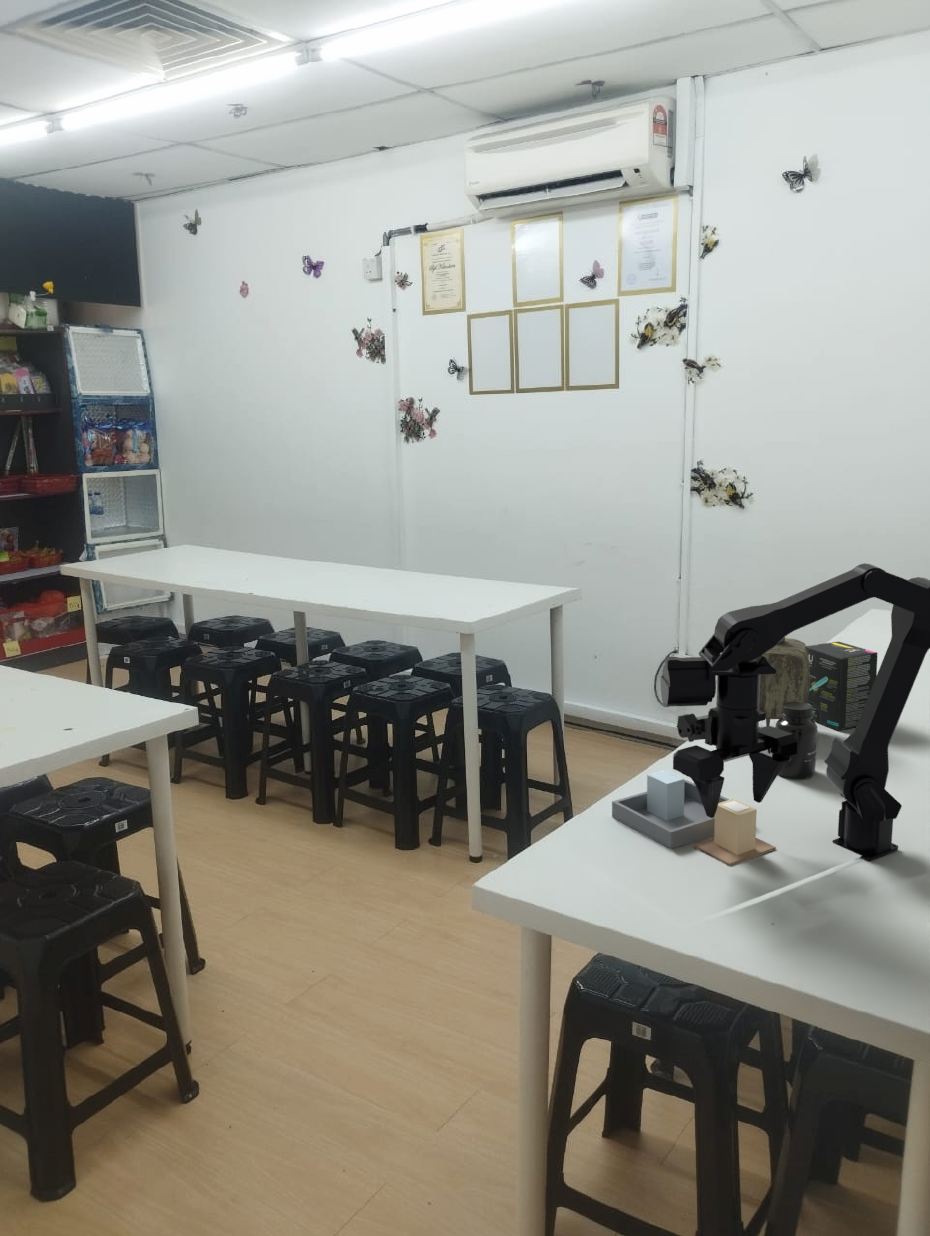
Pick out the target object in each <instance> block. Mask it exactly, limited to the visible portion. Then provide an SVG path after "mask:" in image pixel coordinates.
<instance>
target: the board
mask: <svg viewBox="0 0 930 1236" xmlns="http://www.w3.org/2000/svg"><path fill="white" fill-rule="evenodd" d="M693 848H694V849H696V850H699V851H700V852H702V853H704V854H706V855H707V856H709V857H712V858H713V859H715V860H717V861H719V862H721V863H723V864H725V865H727V866H728V867H731V866H734V865H736V864H739V863H742V862H745V861H747V860H750V859H752V858H755V857H759V856H761V855H764V854H767V853H769V852H772V851H775V850H776V849H777V848H776V846H774V845H772V844H771V843H769V842H765V841H764V840H761V839H760V838H758V837H756V839H755V849H753V850H750V851H747V852H745V853H742V854H739V855H736V854H734V853H732V852H730V851H728V850H726V849H724V848H722V847H721V846H719V845H717V844H715V843H714V837H713V838H709V839H707V840H704V841H701V842H698V843H695V844H693Z"/></svg>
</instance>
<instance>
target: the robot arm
mask: <svg viewBox="0 0 930 1236" xmlns="http://www.w3.org/2000/svg"><path fill="white" fill-rule="evenodd" d="M872 598H876V599H878V600H881V601H883V602H886V603H888V604H890V605H892V609H891V613H890V621H891V622H890V623H891V624H890V625H891V637H890V640H889V641H890V642H889V644H888V647H887V649H886V651H885V654H884V656H883V659H882V662H881V663H880V667H879V669H878V671H877V676H876V679H875V681H874V684H873V686H872V689H871V691H870V694H869V696H868V699H867V701H866V704H865V706H864V709H863V711H862V714H861V716H860V719H859V721H858V724H857V726H856V727H855V728H854V731H853V732H852V733H851V734H849V736H848V737H847V738H845V739H844V740H843V739H841V738H839V737H835V738H834V739H833V741H832V746H831V750H830V752H829V755H828V756H827V757H826V758H825V759H824V762H823V763H825V765H827V767H826V770H825V771H826V776H827V778H828V781H829V783H831V785H832V786H833V787H834V788H835V789H837V791H838V792H839V795H840V797H842V798H844V801H842V802H841V809H839V810H838V826H837V836H838V837H837V838H835V839H833V840H832V844H834V845H837V846H839V847H840V848H843V849H846V850H848V851H850V852H853V853H854V854H856V855H857V854H858V855H859V856H860V858H862V859H864V860H867V861H874V860H875V859H878V858H881V857H882V856H883V857H884V856H885V855H888V854H891V853H893V852H896V851H897V850H899V845H897V844H895V843H893V842H892V841H893V828H894V827H893V826H894V820H896V819H897V818H898V815H899V814H900V811H901V809H902V806H903V805H902V804H901V803H900V801H898V800H897V799H896V798H895V797H894V796H892V795H891V794H890V793H889V792H888V791H887V790H886V785H887V780H888V775H889V771H890V766H889V765H890V764H889V762H890V761H889V760H890V759H889V746H890V743H891V740H892V737H893V736H894V733H895V731H896V728H897V725H898V724H899V721H900V718H901V716H902V713H903V711H904V709H905V706H906V704H907V702H908V699H909V696H910V694H911V692H912V689H913V687H914V684H915V682H916V679H917V677H918V674H919V673H920V669H921V668H922V665H923V663H924V661H925V657H926V655H927V653H928V652H929V650H930V579H928V578H925V577H919V576H918V577H912V578H910V579H906V578H903V577H901V576H898V575H896V574H892V573H890V572H887V571H886V570H885V569H883V568H880V567H877V566H875V565H874V564H872V563H871V564H870V563H866V562H865V563H860V564H858V565H856V566H855V567H853V568H852V569H851V570H848V571H846V572H843V573H842V574H838V575H837V576H835V577H834V576H833V577H832V578H830V579H827V580H825V581H822V582H821V583H818V584H816V585H814V586H811V587H809V588H806V589H804V590H802V591H800V592H797V593H795V594H792V595H790V596H788V597H785V598H784V599H781V600H778V601H776V602H772V603H768V605H766V604H762V605H753V606H752V605H751V606H747V607H743V608H740V609H739V608H738V609H734V610H731V611H728V612H726V613H724V614H722V615H721V616H720V617H719V618H718V619H717V623H716V625H715V627H714V633H713V634H712V636H711V637H710V638H709V639H708V641H707V642H706V643H705V644H704V646H703V647H702V649H701V650H700V651H699V652H698V657H697V656H695V657H694V656H693V657H678V656H665V658H664V665H663V667H662V672H661V675H660V679H659V680H660V695H661V696H660V697H661V702H662V704H663V706H664V707H666V708H667V707H694V706H695V707H700V706H702V707H703V706H707V705H708V703H712V702H713V699H714V698H715V697H716V701H715V702H716V704H715V705H716V707H711V708H709V710H708V714H706V715H701V716H696V715H695V713H687V714H682V715H678V716H677V725H676V727H677V733H678V735H679V737H680V738H681V739H682V738H683V739H684V738H685V739H686V738H687V741H688V742H689V743H691V742H692V743H693V742H695V741H700V740H704V744H706V745H707V746H711V747H712V746H713V747H714V746H715V749H713V750H709V749H707V748H705V747H701V746H699V745H696V744H695V745H691V746H688V747H684V748H681V749H678V750H676V751H675V752H674V754H673V756H672V759H673V760H672V769H673V770H675V771H677V772H679V773H681V774H682V775H684V776H686V777H689V778H690V779H691V780H692V781H693V782H692V783H694V784H695V786H696V788H697V790H698V792H699V795H700V798H701V801H702V804H703V807H704V809H705V812H706V815H707V816H708V817H710V818H714V816H715V813H716V810H717V807H718V803H719V799H720V795H721V796H722V789H723V786H724V782H725V777H724V776H721V775H722V774H723V772H724V770H725V769H724V768H725V763H726V762H730V761H733V760H736V759H737V760H738V759H741V758H744V757H747V756H748V757H749V759H750V761H751V763H752V794H753V801H754V802H756V803H759V804H760V803H762V801H763V800H764V798H765V796H766V795H767V793H768V791H769V790H770V788H771V786H772V785H773V783H774V782H775V780H776V778H777V777H778V776H779V773H780V771H781V770H782V768H783V767H784V765H785V764H786V763H787V762H788V761H790V759H791V757H790V756H791V755H795V754H797V740H796V738H795V737H794V735H793V734H792V733H789V732H786V731H783V730H780V729H778V728H775V727H774V726H772V725H770V726H766V725H765V726H762V727H759V723H760V722H762V721H766V719H765V718H766V713H764V712H761V711H759V698H760V675H762V674H775V673H776V672H777V670H776V669H775V668H774V667H773V666H772V665H770V664H769V662H768V661H767V659H766V657H765V656H764V655H763V654H764V653H766V652H767V651H769V650H771V649H772V648H774V647H775V646H776V645H777V644H778V643H779V642H780V641H781V640H782V639H783V638H784V637H785V638H786V637H787V636H788V635H790V634H791V633H793V632H795V631H797V630H799V629H801V628H804V627H806V626H809V625H811V624H813V623H816V622H818V621H820V620H823V619H825V618H827V617H828V618H829V616H832V615H834V614H836V613H838V612H841V611H844V610H845V609H849V608H851V607H853V606H855V605H858V604H860V603H862V602H864V601H867V600H869V599H872ZM716 676H717V677H716Z"/></svg>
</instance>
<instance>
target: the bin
mask: <svg viewBox="0 0 930 1236" xmlns="http://www.w3.org/2000/svg"><path fill="white" fill-rule="evenodd" d="M730 799H731V798H727V797H724V796H722V794H721V795H720V799H719V803H721V802H724V801H727V800H730ZM611 817H612V819H614V820H617V821H619V822H620V823H622V824H624V825H626V826H627V827H629V828H631V829H633V830H635V831H637V832H639V833H640V834H642V835H644V836H645V837H648V838H650V839H651V840H653V841H656V842H658V844H661V845H663V846H664V847H666V848H668V849H670V850H672V849H675V848H678V847H680V846H684V845H686V844H690V843H692V842H696V841H698V840H701V839H705V838H707V837H709V836H710V837H711V836H714V826H715V816H714V818H710V817H708V816H707V815H706V812H705V809H704V807H703V804H702V801H701V798H700V795H699V792H698V790H697V788H696V786H695V784H694V782H692V781H690V780H687V779H684V815H683V816H680V817H677V818H674V819H671V820H667V821H666V820H664V819H662V818H660V817H658V816H656V815H654V814H652V813H650V812H649V811H647V790H646V791H644V792H640V793H637V794H633V795H630V796H627V797H623V798H619V799H616V800H612V801H611Z"/></svg>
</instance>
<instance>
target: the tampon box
mask: <svg viewBox="0 0 930 1236" xmlns="http://www.w3.org/2000/svg"><path fill="white" fill-rule="evenodd" d="M806 648H807V651H808V657H809V667H810V691H809V698H808V703H807V704H809V705H811V706H812V718H811V720H812V721H813V722H815V723H817V724H820V725H822V726H825V727H828V728H830V729H832V730H834V731H835V730H836V731H841V730H847V729H848V730H849V729H852V728H856V726H857V724H858V721H859V719H860V716H861V714H862V711H863V709H864V706H865V704H866V701H867V699H868V696H869V694H870V691H871V689H872V686H873V684H874V681H875V679H876V676H877V674H878V671H877V670H878V669H877V668H878V652H876V651H873V650H869V649H866V648H862V647H860V646H859V647H858V646H855V645H851V644H848V643H846V642H842V641H834V642H826V643H817V644H813V645H806Z"/></svg>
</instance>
